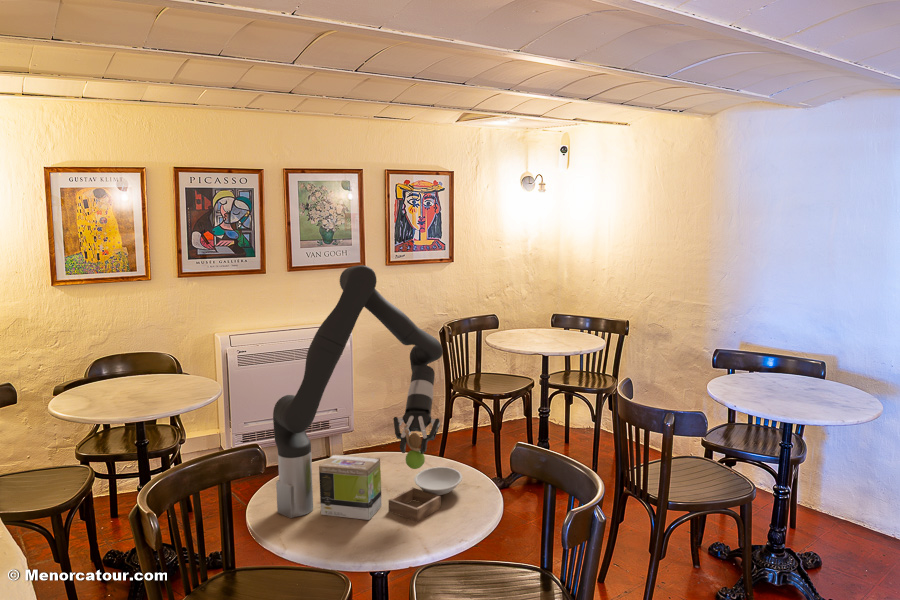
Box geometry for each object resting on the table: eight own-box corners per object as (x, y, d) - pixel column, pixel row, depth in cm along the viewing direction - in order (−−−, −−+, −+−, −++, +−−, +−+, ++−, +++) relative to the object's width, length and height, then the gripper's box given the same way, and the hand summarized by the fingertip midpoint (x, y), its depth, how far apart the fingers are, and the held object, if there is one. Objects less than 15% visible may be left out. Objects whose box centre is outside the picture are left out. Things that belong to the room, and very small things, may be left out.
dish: (457, 507, 183) (456, 491, 182) (408, 504, 185) (408, 487, 185) (466, 483, 200) (466, 467, 199) (422, 480, 203) (421, 465, 202)
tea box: (382, 506, 184) (381, 457, 183) (369, 521, 175) (367, 470, 173) (335, 500, 188) (333, 452, 187) (319, 515, 179) (317, 465, 177)
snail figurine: (412, 462, 184) (411, 422, 183) (428, 467, 180) (427, 426, 179) (399, 468, 180) (398, 427, 179) (415, 473, 176) (414, 432, 175)
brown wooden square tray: (417, 521, 174) (417, 509, 174) (388, 511, 181) (388, 499, 180) (440, 507, 183) (440, 496, 182) (412, 498, 189) (412, 487, 189)
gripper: (394, 391, 186) (385, 445, 176) (442, 393, 184) (436, 447, 174) (398, 404, 192) (390, 457, 182) (445, 405, 190) (439, 459, 180)
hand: (412, 452), depth 178 cm, fingers closed on snail figurine, 4 cm apart
